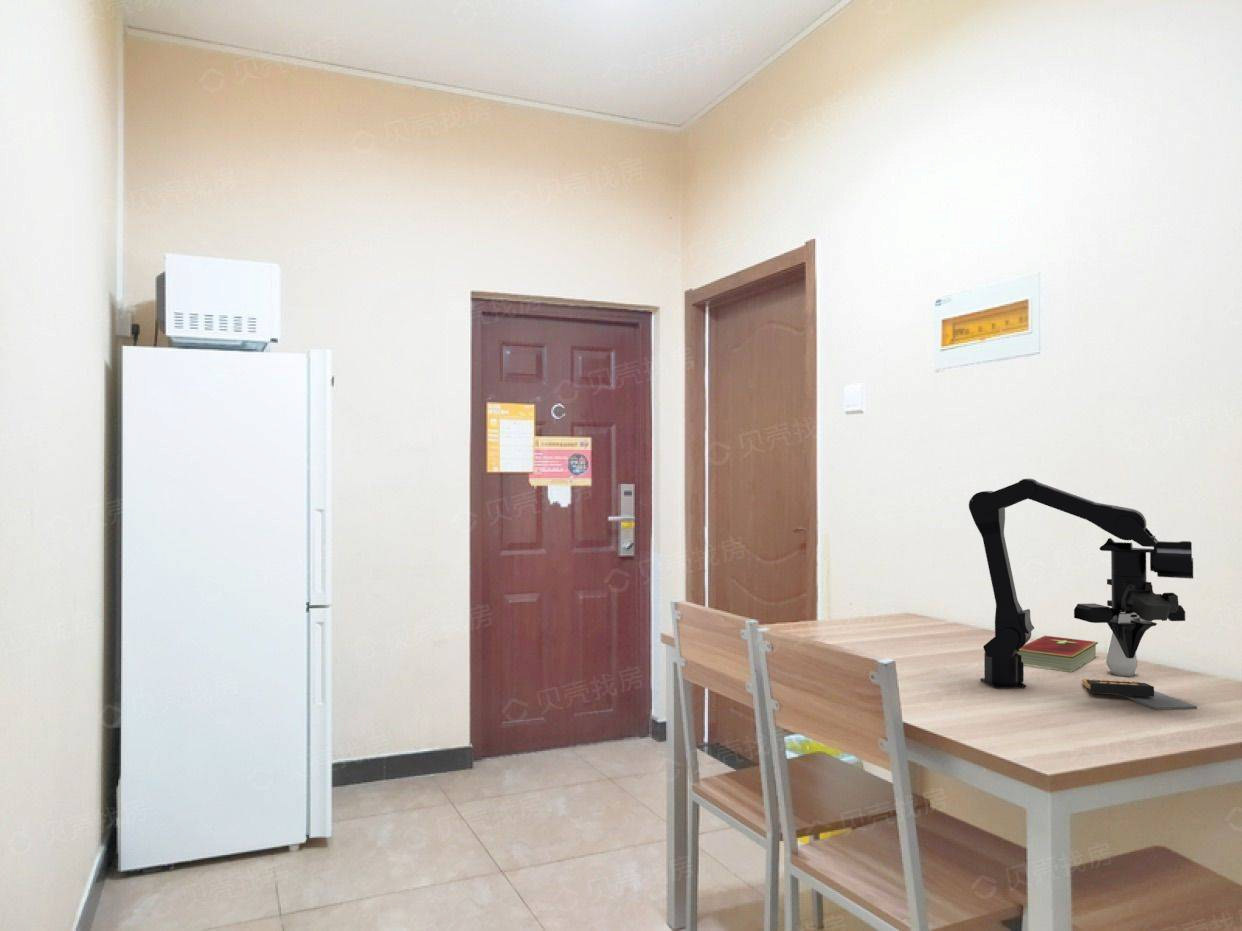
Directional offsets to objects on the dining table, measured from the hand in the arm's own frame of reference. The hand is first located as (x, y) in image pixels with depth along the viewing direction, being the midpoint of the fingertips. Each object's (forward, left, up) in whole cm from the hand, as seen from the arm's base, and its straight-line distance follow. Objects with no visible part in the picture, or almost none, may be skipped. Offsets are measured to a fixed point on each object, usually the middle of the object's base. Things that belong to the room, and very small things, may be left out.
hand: (1129, 658), depth 162 cm
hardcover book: (+7, +34, -9) cm, 36 cm away
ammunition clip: (-1, +1, -6) cm, 6 cm away
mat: (+5, 0, -8) cm, 9 cm away
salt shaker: (+13, +20, -8) cm, 25 cm away
